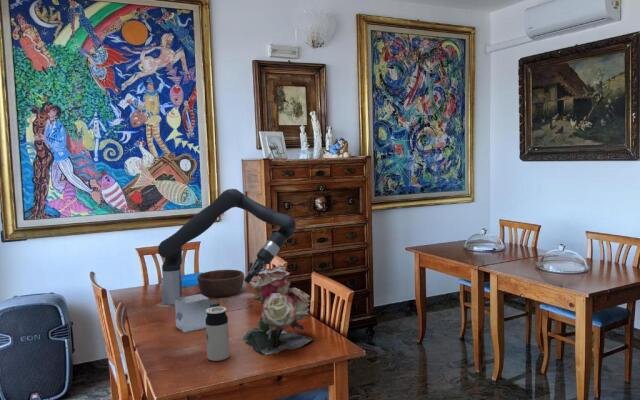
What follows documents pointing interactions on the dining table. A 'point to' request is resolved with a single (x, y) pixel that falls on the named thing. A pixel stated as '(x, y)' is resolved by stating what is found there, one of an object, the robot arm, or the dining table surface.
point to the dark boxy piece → (212, 304)
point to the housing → (191, 312)
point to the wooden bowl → (221, 283)
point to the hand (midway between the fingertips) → (246, 281)
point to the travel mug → (217, 334)
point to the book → (189, 279)
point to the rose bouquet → (278, 313)
